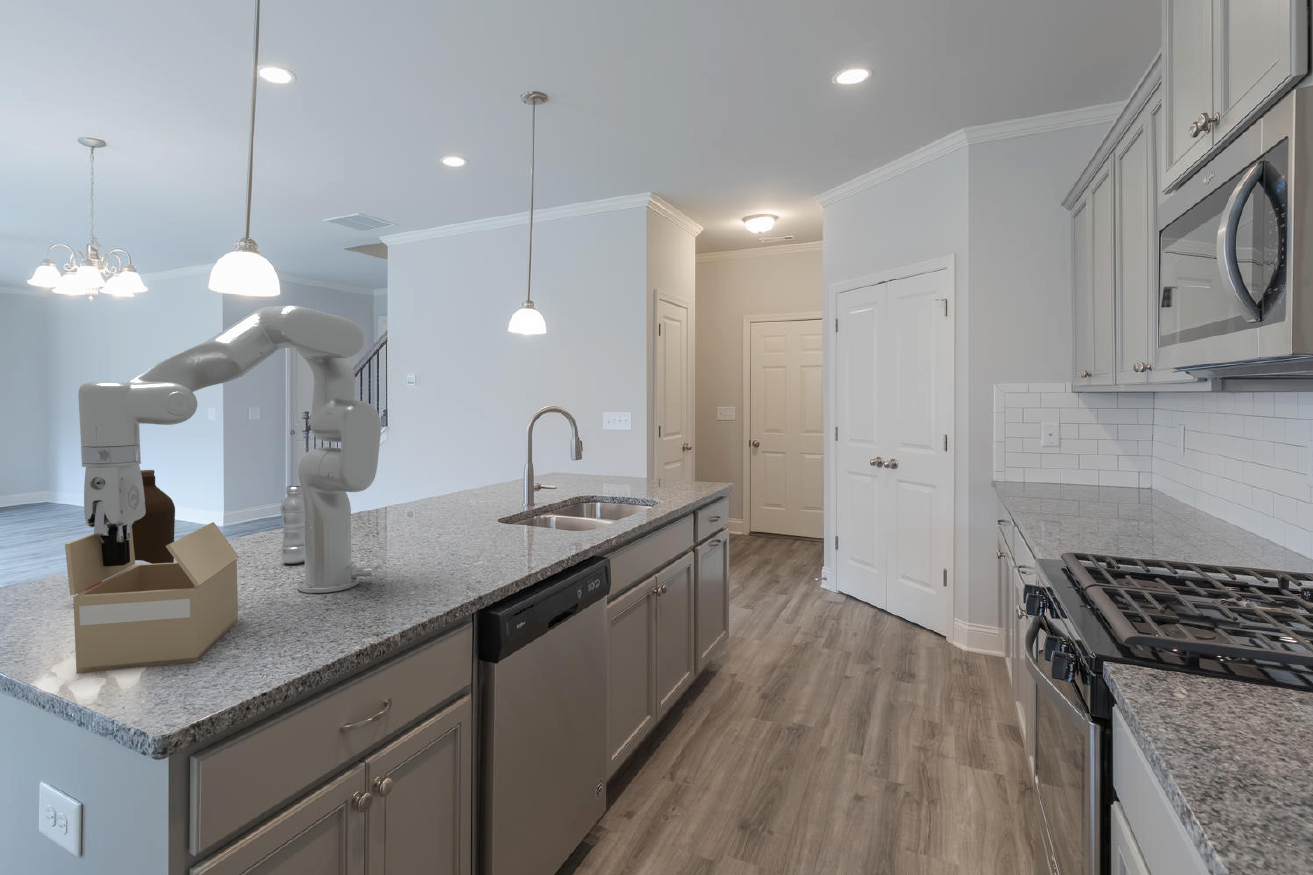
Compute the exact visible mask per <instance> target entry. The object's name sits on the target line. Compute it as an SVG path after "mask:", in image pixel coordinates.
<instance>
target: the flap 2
mask: <svg viewBox="0 0 1313 875" xmlns="http://www.w3.org/2000/svg"><path fill="white" fill-rule="evenodd" d="M166 548H167V549H168V550H169V552H170V553H171V554H172V556H173V557H174V561H176V562H178V564H179V565H180V566H181V568H182V569H183V570H184V572H185V573H186V574H187V576H188V577H189V578H190V580H191V581H192V583H193V584H194V585H195V587H197V586H199V585H201V584H202V583H203V582H205V581H206V580H208V579H209V578H210V577H212V576H213V575H215V574H216V573H217V572H219V571H220V570H222V569H223V568H224V567H226V566H227V565H229V564H230V563H231V562H233V561H234V560H236V559H238V558H239V555H238V554H237V552H236V551H235V548H233V547H232V545H231V544H230V543H229V541H228V540H227V538H226V537H225V535H224V534H223V533H222V531H221V530H220V529H219V527H218V526H217V525H216V523H215V522H214V521H213V522H211V523H208V524H206V525H204V526H203V527H201V528H198V529H197V530H194V531H193V532H191V533H189V534H187V535H185V536H182V537H181V538H179V539H176V540H174V542H172V543H170V544H169V545H167V546H166Z"/></svg>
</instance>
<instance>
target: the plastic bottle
mask: <svg viewBox="0 0 1313 875" xmlns="http://www.w3.org/2000/svg"><path fill="white" fill-rule="evenodd" d="M285 489H286V490H285V494H286V497H285V498H284V500H283V501H282V502H281V505H280V514H281V519H282V520H281V521H282V528H283V529H282V531H283V533H282V534H283V535H282V546H281V548H280V549H281V550H280V558H281V561H282V562H283V563H285V564H288V565H289V564H290V565H291V564H293V565H297V564H301V563H305V550H304V504H303V495H302V489H301V485H288V486H286V487H285Z"/></svg>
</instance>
